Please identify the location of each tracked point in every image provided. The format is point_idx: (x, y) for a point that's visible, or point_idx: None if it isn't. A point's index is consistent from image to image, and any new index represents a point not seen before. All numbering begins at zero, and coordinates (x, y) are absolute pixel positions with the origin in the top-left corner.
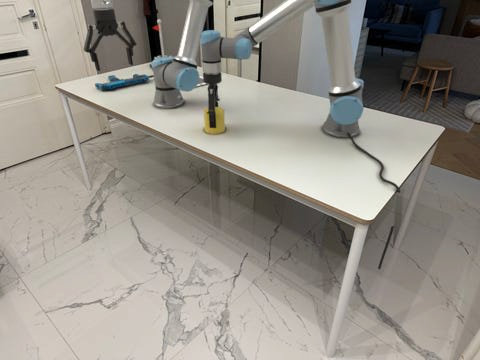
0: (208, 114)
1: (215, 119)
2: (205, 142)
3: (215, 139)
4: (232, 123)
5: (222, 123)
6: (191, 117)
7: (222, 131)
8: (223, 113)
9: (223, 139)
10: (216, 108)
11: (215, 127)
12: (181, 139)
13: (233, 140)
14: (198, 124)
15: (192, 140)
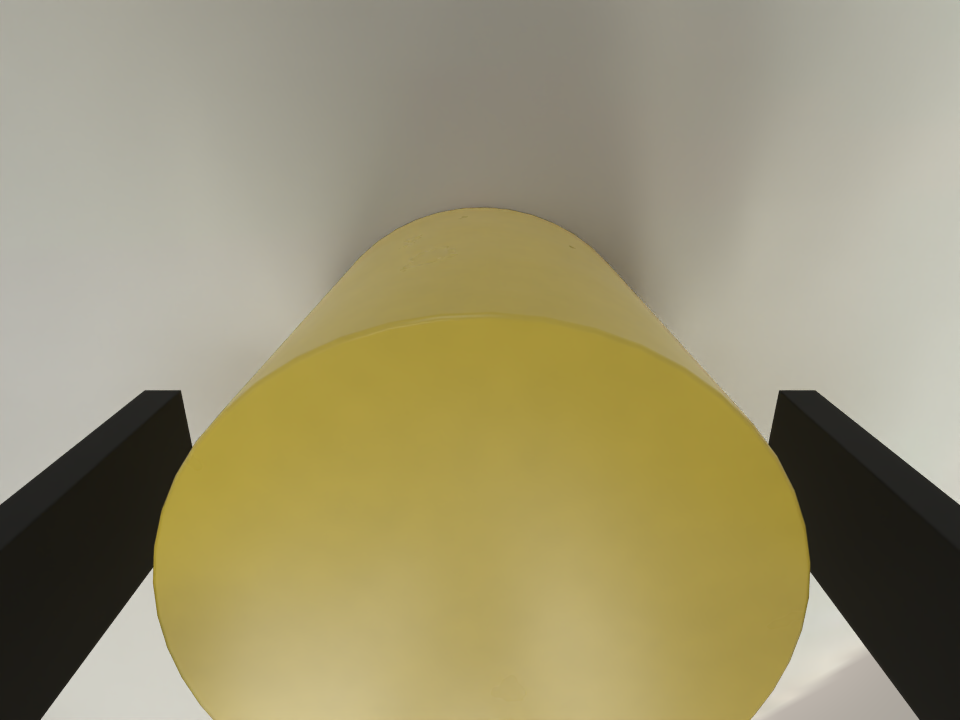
0: (741, 714)
1: (947, 502)
2: (907, 459)
3: (839, 334)
4: (179, 70)
5: (611, 276)
6: (95, 693)
7: (587, 245)
8: (606, 319)
9: (866, 207)
10: (292, 572)
11: (816, 404)
12: (758, 710)
13: (950, 12)
14: None
15: (809, 607)
